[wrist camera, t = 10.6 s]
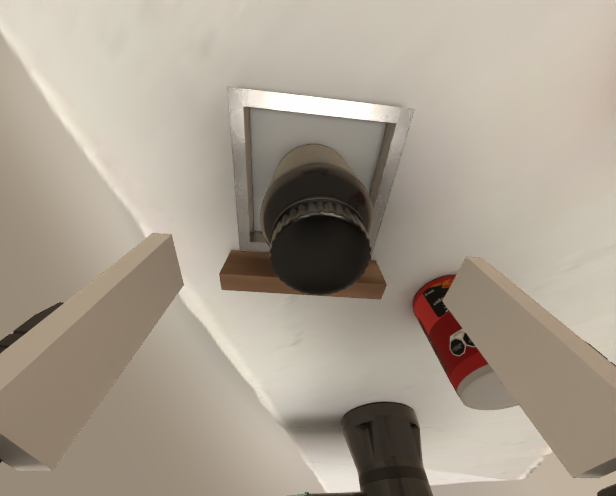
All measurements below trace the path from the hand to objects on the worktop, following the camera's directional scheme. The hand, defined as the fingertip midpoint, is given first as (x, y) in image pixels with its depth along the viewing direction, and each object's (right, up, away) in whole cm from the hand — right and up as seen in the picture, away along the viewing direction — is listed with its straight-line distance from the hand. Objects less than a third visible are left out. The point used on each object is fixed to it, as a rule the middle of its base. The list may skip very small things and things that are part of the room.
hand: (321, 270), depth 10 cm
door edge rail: (-1, -1, +15) cm, 15 cm away
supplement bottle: (0, +7, +10) cm, 13 cm away
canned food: (+16, -5, +18) cm, 25 cm away
